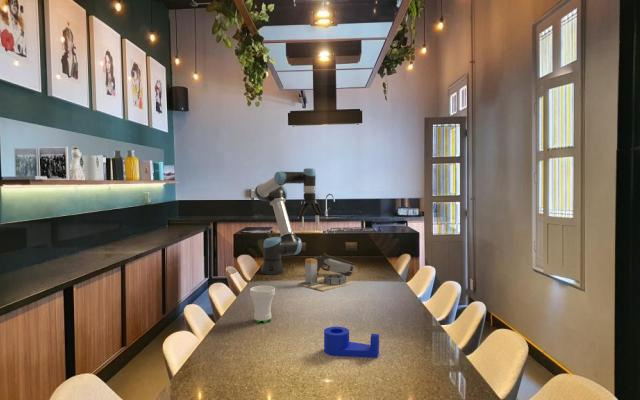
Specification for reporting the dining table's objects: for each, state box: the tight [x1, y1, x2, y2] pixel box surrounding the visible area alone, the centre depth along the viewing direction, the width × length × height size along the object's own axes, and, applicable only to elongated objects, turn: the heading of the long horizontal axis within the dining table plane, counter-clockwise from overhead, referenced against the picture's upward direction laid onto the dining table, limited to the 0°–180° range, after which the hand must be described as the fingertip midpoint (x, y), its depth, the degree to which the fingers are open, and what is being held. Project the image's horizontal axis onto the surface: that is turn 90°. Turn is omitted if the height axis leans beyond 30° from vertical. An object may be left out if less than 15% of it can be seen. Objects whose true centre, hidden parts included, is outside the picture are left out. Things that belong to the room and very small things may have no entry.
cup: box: [249, 285, 276, 324], centre depth 188 cm, size 11×11×14 cm
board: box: [296, 276, 355, 292], centre depth 255 cm, size 22×26×1 cm
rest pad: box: [300, 281, 322, 286], centre depth 254 cm, size 9×9×1 cm
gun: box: [313, 253, 356, 277], centre depth 280 cm, size 5×27×15 cm, turn 90°
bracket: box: [323, 326, 380, 359], centre depth 153 cm, size 20×9×8 cm, turn 76°
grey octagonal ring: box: [323, 273, 347, 285], centre depth 256 cm, size 13×13×4 cm
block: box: [304, 257, 318, 284], centre depth 253 cm, size 5×5×14 cm
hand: (309, 226), depth 272 cm, fingers open, 13 cm apart
